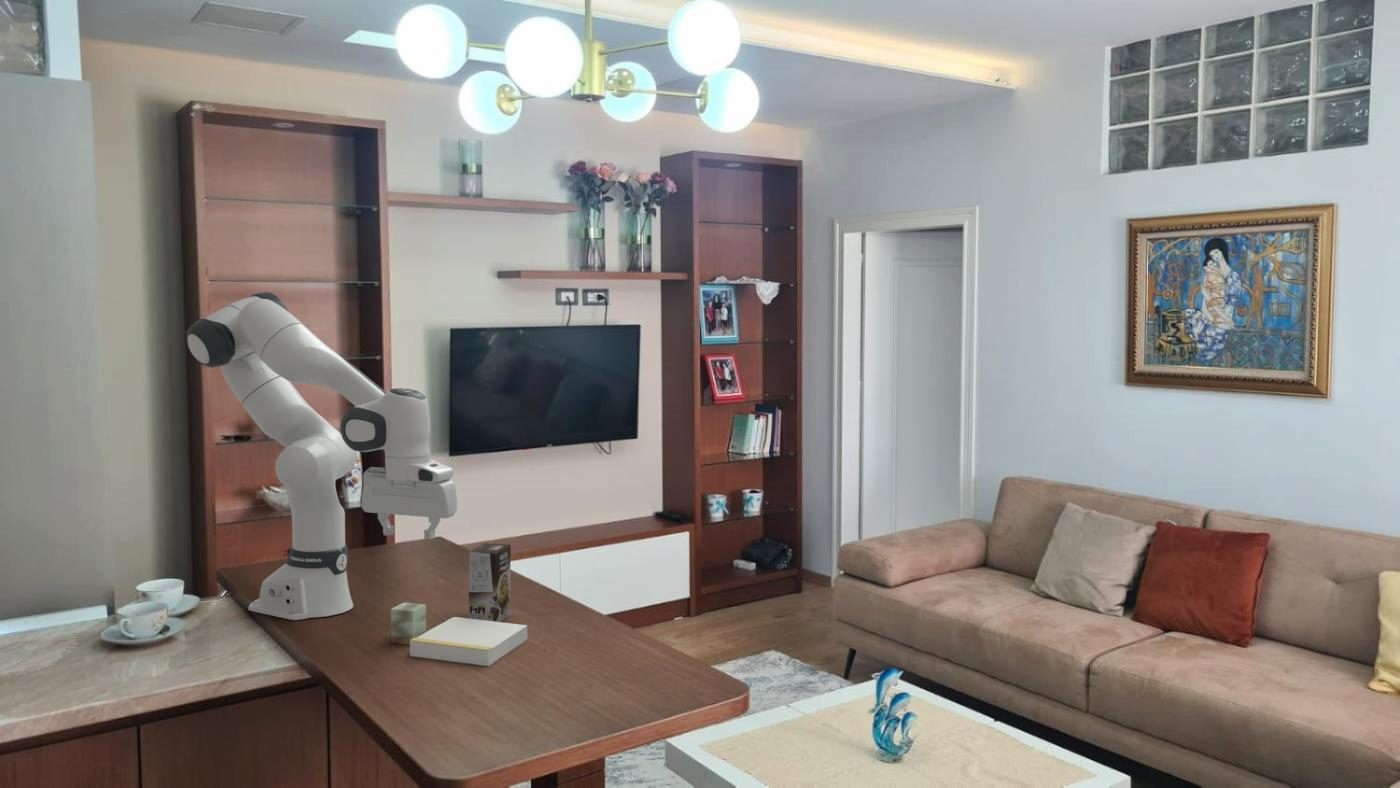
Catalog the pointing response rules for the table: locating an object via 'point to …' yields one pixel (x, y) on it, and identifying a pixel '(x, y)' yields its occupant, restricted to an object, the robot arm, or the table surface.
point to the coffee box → (489, 582)
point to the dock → (468, 641)
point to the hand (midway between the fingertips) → (409, 536)
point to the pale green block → (407, 622)
